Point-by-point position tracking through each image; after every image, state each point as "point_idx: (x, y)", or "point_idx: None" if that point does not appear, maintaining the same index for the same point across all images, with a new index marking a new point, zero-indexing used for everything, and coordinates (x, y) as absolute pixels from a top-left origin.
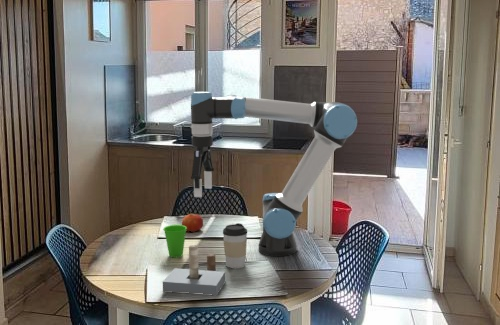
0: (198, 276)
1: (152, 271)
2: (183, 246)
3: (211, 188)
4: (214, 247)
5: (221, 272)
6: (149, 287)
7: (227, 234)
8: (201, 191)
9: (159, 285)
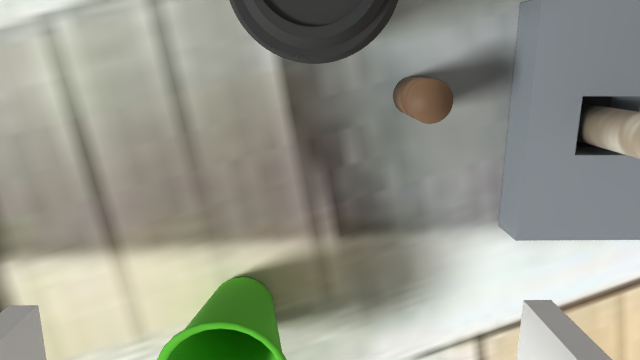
0: (610, 108)
1: (439, 329)
2: (235, 289)
3: (34, 307)
4: (93, 165)
5: (552, 13)
6: (595, 285)
7: (389, 11)
8: (590, 343)
9: (575, 257)
